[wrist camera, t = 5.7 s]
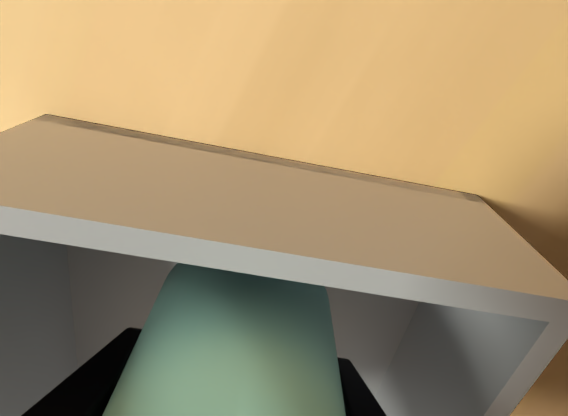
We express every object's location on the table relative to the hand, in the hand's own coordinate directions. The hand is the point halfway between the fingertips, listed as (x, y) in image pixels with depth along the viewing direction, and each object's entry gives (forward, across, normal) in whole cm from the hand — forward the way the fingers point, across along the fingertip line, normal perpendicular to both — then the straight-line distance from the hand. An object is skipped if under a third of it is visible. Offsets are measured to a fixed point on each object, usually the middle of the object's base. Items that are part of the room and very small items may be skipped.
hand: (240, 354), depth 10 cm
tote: (+4, 0, +4) cm, 6 cm away
